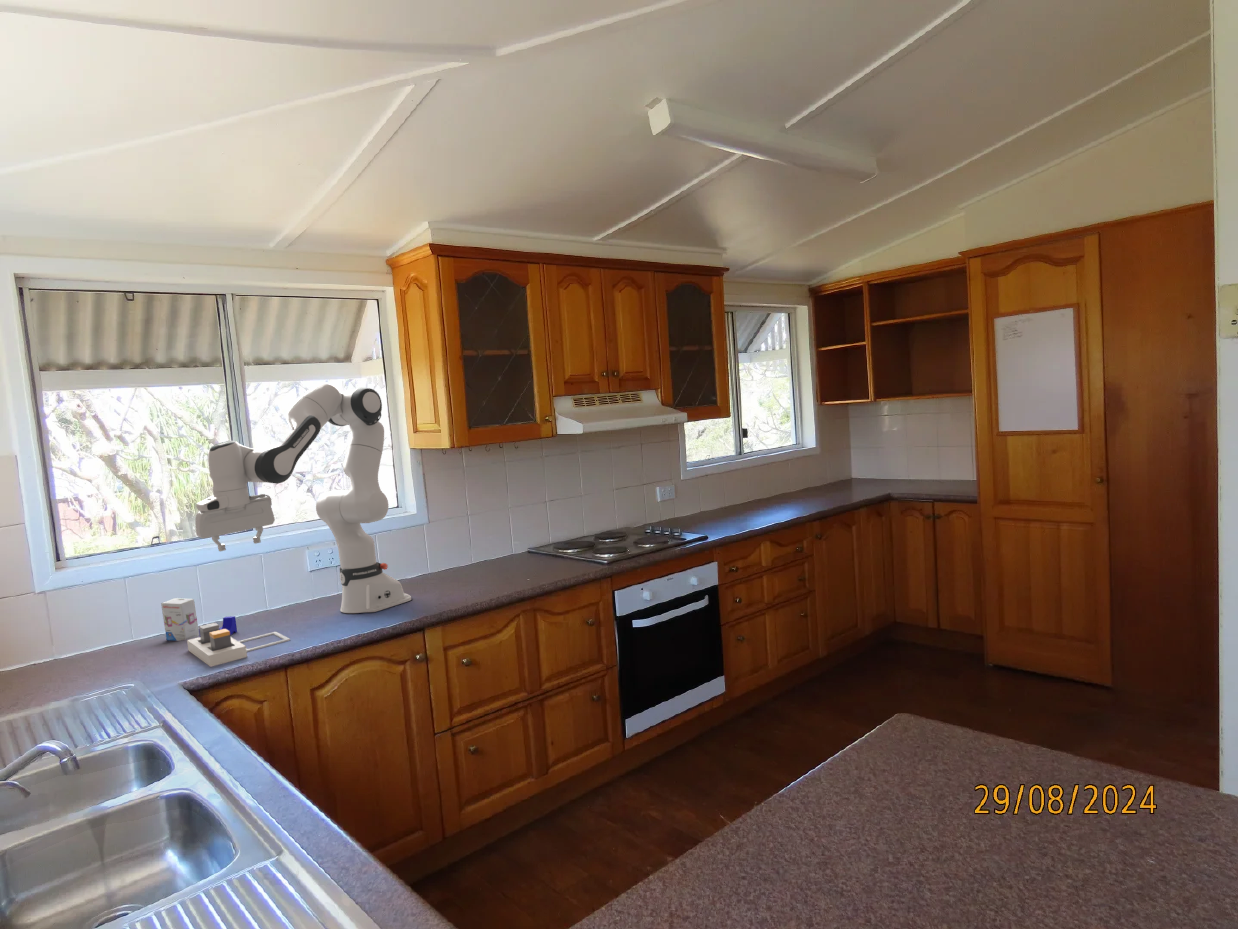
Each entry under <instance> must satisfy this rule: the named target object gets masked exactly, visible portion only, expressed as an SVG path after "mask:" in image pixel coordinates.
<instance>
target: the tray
mask: <svg viewBox="0 0 1238 929" xmlns="http://www.w3.org/2000/svg"><path fill="white" fill-rule="evenodd" d="M273 635H274V636H276V637H277V638H280V639H281V640H277V641H274V642H269V643H265V644H263V645H258V646H255V647H251V648H247V647H246V651H247V653H248V652H252V651H255V650H260V649H264V648H267V647H271V646H274V645H279V644H282V643H286V642H288V641H291V638H290V637H287V636H285V635H283V634H282V633H279V632H277V631H272V632H268V633H264V634H261V635H256V636H253V637H249V638H245V639H241V640H237V641H238V642H240V643H242V644H243V643H246V642H249V641H254V640H257V639H262V638H265V637H269V636H273Z"/></svg>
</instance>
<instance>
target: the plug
mask: <svg viewBox="0 0 1238 929" xmlns="http://www.w3.org/2000/svg"><path fill="white" fill-rule="evenodd" d="M209 634H210V642H211V650H212V651H216V650H220V649H224V648H228V647H231V646H232V645H231V637H232V636H231V635H230V631H229V630H227V629H222V630H218V631H214V632H209Z"/></svg>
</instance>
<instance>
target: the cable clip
mask: <svg viewBox="0 0 1238 929" xmlns="http://www.w3.org/2000/svg"><path fill="white" fill-rule="evenodd" d="M222 629H227V630H229V631H230V636H232V635H233V634H234V633H235V634H236V633H238V630H237V629H238V626H237V621H236V616H234V615H232V616H231V615H230V616H225V617H222V626H221V627H219V630H222ZM198 637H200V631H199V636H198Z"/></svg>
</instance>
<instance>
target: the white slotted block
mask: <svg viewBox="0 0 1238 929" xmlns="http://www.w3.org/2000/svg"><path fill="white" fill-rule="evenodd" d="M230 637H231V645H232V646H231V647H228V648H224V649H220V650H216V651H212V650H211V642H210V643H206V644H201V638H200V636H197V637H193V638H189V639H186V642H187V649H188V652H189V653H191V654H193V656H195V657H196V658H197V659H199V660H200V661H201V662H203V663H204V664H206V665H207V666H209V667H210V668H212V667H216V666H219V665H223V664H227V663H231V662H235V661H239V660H242V659H245V658H248V652H247V651H246V648H247V645H245V644H243V642H242V643H240V642H238V641H239V640H237V639H235V638H233V637H232V636H230Z"/></svg>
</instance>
